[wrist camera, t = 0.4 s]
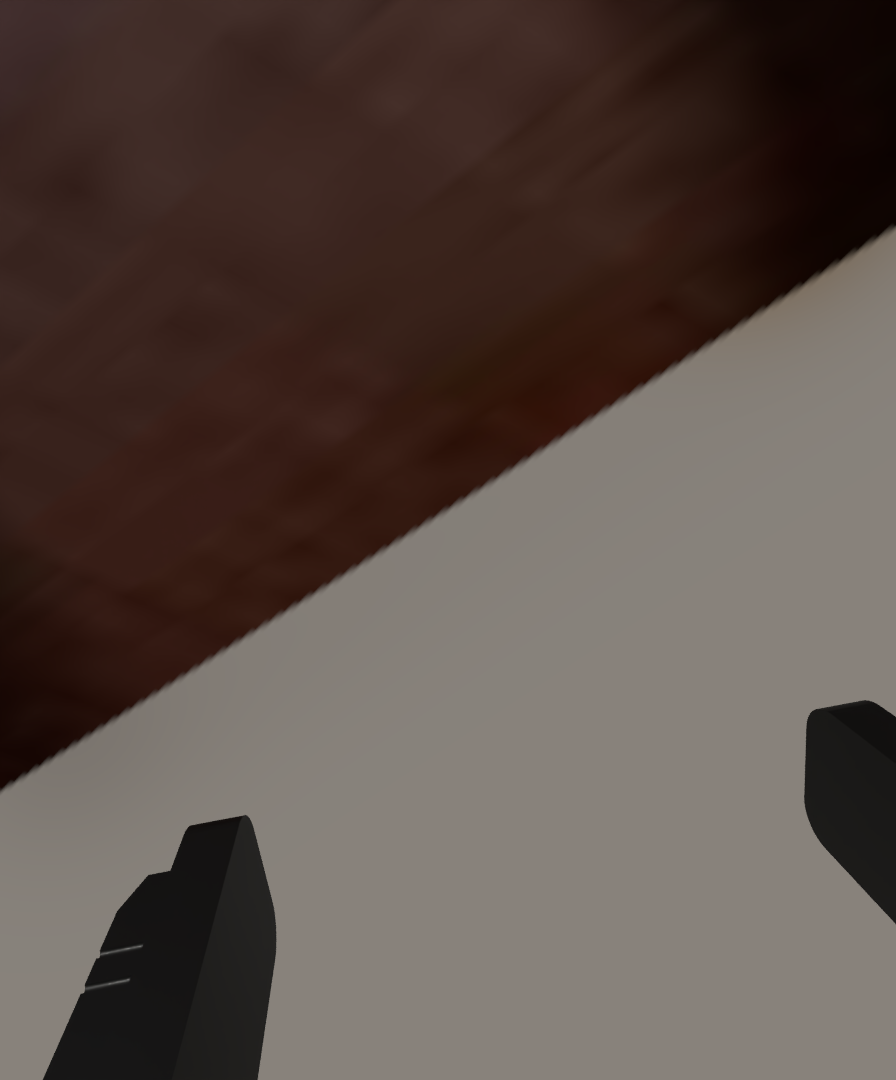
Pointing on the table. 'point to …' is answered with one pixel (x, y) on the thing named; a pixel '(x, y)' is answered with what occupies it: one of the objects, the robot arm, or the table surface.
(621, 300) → the table surface
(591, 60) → the table surface
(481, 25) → the table surface
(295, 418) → the table surface
